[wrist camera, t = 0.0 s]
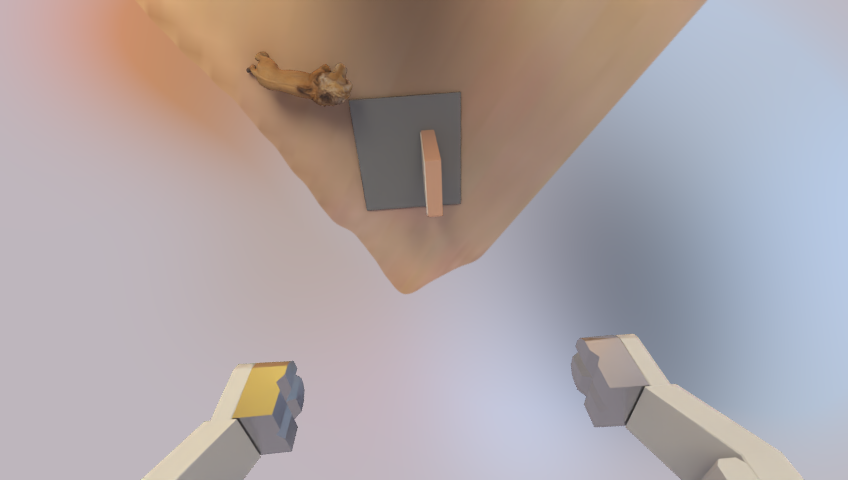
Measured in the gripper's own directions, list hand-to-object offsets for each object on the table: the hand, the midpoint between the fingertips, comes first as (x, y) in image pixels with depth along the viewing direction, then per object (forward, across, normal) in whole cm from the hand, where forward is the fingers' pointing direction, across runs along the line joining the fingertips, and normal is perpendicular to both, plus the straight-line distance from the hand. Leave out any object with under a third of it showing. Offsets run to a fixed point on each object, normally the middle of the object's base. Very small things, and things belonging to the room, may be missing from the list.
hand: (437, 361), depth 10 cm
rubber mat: (+48, +1, +12) cm, 50 cm away
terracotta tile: (+48, -2, +12) cm, 49 cm away
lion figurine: (+48, +14, -1) cm, 50 cm away
